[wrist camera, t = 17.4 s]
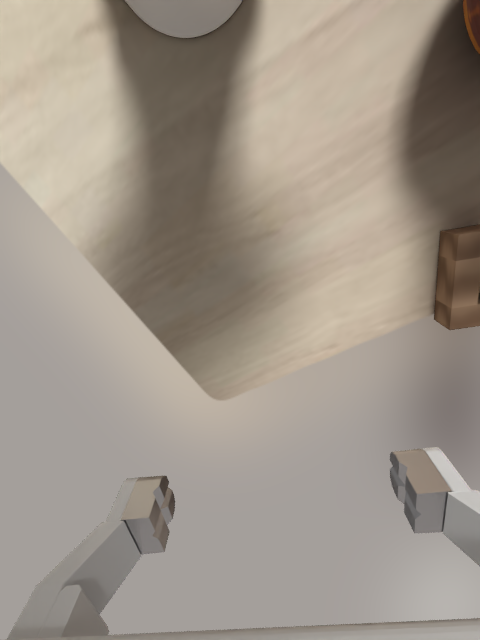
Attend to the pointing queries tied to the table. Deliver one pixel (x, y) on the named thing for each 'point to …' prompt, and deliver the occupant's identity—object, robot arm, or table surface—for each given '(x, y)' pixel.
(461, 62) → the table surface
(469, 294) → the socket block
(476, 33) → the jug
